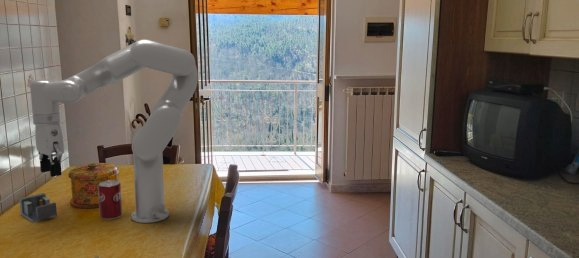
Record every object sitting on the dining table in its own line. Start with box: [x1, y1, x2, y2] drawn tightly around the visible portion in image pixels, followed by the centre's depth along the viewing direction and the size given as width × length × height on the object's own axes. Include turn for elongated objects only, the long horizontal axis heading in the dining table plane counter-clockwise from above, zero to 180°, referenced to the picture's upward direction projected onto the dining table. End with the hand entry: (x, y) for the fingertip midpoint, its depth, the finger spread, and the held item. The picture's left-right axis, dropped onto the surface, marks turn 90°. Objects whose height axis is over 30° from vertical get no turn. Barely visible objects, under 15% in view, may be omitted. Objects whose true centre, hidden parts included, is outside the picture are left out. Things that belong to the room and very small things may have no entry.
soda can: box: [97, 180, 123, 221], centre depth 157 cm, size 7×7×12 cm
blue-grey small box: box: [36, 199, 58, 219], centre depth 154 cm, size 5×6×5 cm
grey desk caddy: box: [18, 193, 58, 223], centre depth 157 cm, size 10×8×6 cm
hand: (51, 173), depth 147 cm, fingers open, 6 cm apart
